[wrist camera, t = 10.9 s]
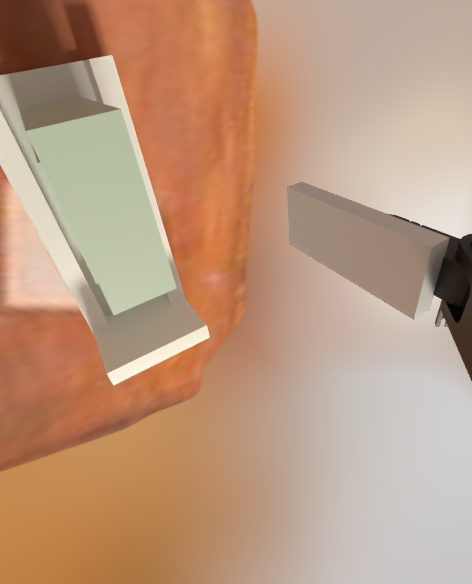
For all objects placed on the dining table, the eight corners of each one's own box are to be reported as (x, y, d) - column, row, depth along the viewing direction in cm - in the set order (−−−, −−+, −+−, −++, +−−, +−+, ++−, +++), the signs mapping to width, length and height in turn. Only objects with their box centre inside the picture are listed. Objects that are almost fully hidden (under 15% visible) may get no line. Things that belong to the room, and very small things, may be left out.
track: (-41, 82, 21) (-60, 85, 15) (102, 56, 24) (132, 50, 18) (95, 331, 34) (113, 385, 28) (177, 295, 37) (209, 337, 31)
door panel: (16, 110, 23) (21, 131, 14) (82, 96, 24) (124, 108, 15) (79, 242, 28) (111, 316, 20) (129, 225, 30) (179, 287, 21)
